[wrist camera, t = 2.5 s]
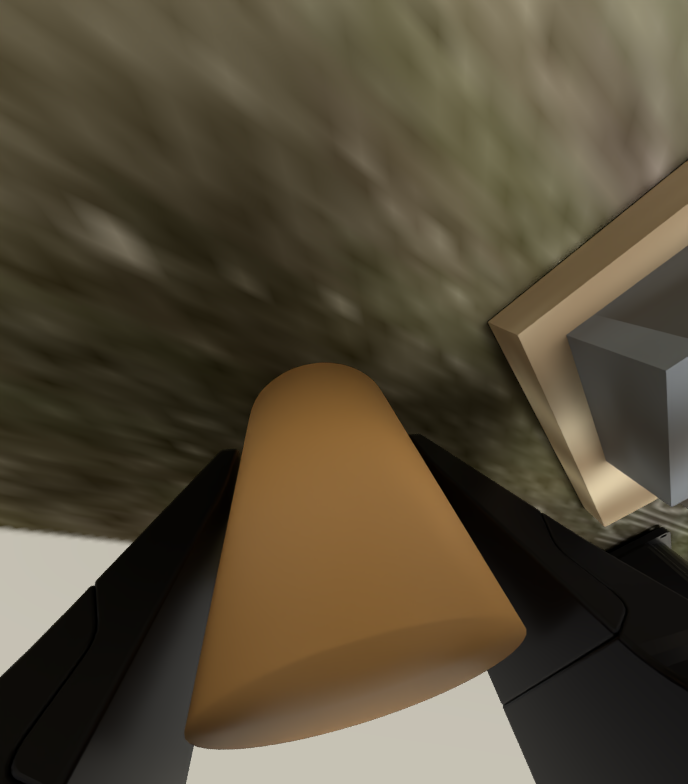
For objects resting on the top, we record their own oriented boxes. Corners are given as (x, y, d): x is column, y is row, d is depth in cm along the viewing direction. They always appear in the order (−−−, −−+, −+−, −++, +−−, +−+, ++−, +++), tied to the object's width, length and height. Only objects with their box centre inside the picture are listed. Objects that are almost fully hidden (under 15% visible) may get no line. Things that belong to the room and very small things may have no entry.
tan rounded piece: (411, 419, 9) (561, 639, 4) (320, 489, 10) (352, 733, 5) (323, 330, 7) (420, 579, 2) (217, 432, 8) (98, 768, 3)
